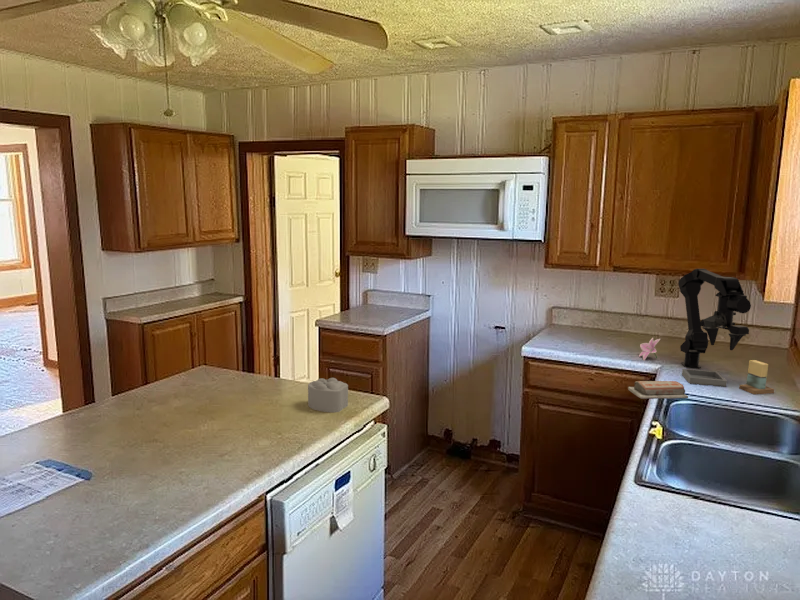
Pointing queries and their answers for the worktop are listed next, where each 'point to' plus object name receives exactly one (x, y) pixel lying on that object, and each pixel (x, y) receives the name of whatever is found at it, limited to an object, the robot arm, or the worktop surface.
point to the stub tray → (704, 377)
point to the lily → (648, 348)
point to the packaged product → (658, 389)
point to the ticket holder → (756, 385)
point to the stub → (758, 368)
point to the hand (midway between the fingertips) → (721, 347)
